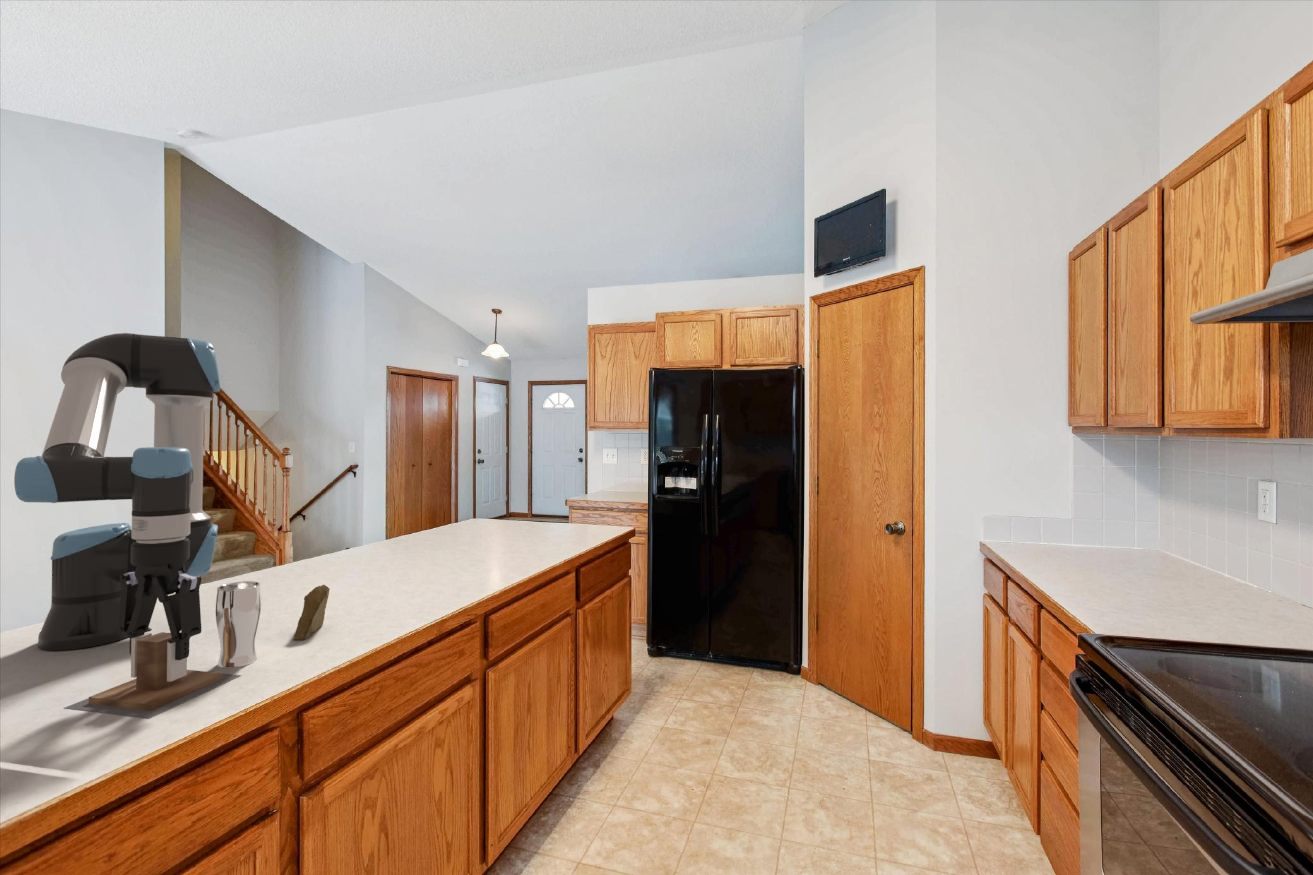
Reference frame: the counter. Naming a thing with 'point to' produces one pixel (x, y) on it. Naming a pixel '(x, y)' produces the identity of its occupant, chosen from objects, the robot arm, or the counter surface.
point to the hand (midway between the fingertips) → (158, 675)
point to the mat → (146, 714)
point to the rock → (312, 612)
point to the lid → (153, 679)
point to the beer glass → (237, 622)
